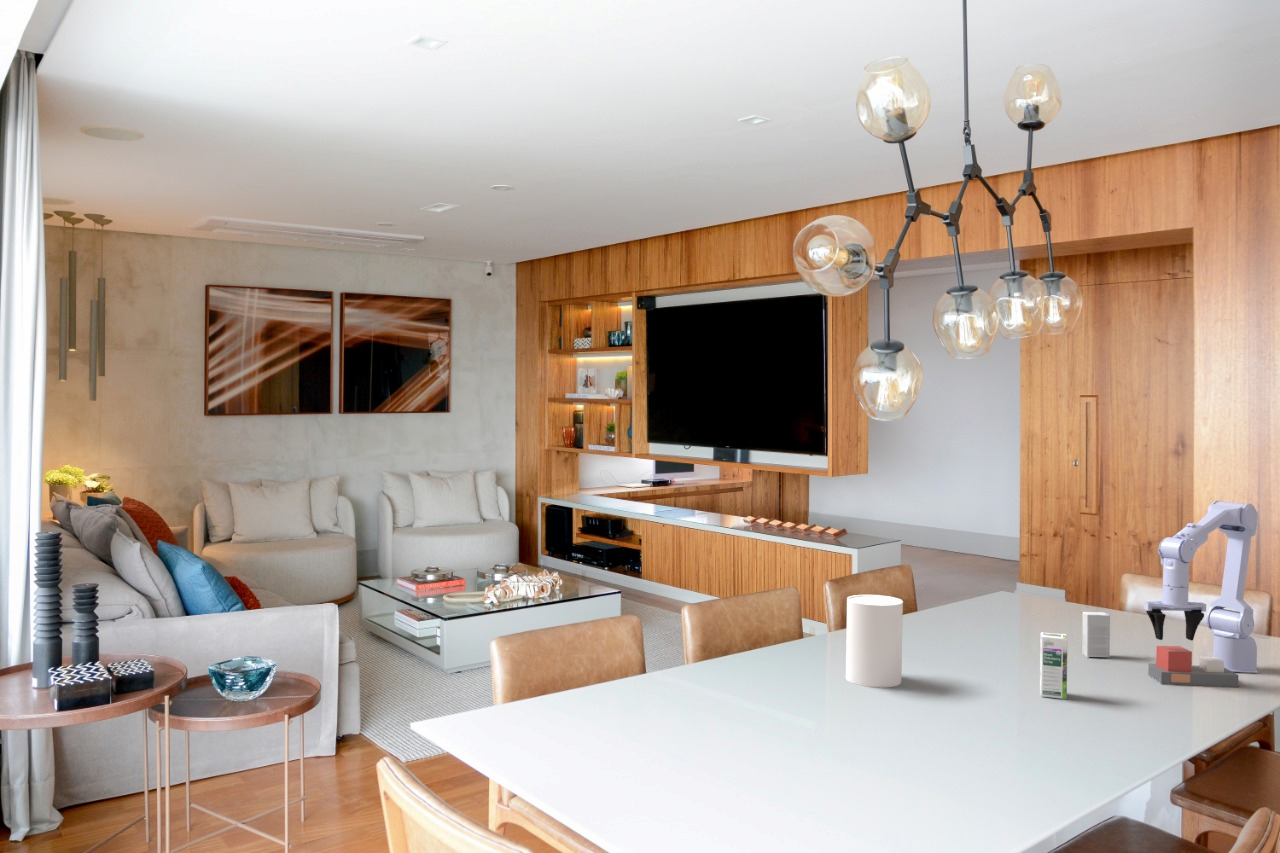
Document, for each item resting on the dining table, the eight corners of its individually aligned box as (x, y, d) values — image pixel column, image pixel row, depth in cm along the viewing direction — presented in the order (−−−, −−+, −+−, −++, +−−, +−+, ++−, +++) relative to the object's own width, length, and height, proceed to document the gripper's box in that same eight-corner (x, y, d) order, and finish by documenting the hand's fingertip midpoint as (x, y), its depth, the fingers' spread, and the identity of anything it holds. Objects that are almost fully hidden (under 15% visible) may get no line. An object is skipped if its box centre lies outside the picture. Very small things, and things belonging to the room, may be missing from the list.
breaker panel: (1222, 678, 249) (1222, 666, 248) (1238, 687, 240) (1238, 675, 240) (1148, 675, 251) (1148, 663, 251) (1161, 684, 242) (1161, 672, 242)
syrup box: (1040, 697, 230) (1041, 636, 230) (1039, 690, 236) (1040, 630, 236) (1066, 700, 228) (1067, 638, 228) (1065, 693, 234) (1066, 632, 234)
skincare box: (1103, 654, 271) (1104, 611, 271) (1109, 658, 267) (1110, 615, 267) (1081, 654, 272) (1082, 611, 271) (1086, 658, 267) (1087, 614, 267)
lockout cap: (1179, 665, 249) (1179, 646, 249) (1191, 671, 243) (1192, 651, 243) (1156, 665, 249) (1156, 645, 249) (1168, 671, 243) (1168, 651, 243)
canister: (858, 669, 253) (859, 592, 253) (909, 678, 245) (910, 599, 245) (837, 680, 242) (838, 600, 242) (889, 690, 234) (890, 607, 234)
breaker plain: (1216, 671, 247) (1216, 657, 247) (1223, 675, 243) (1224, 661, 243) (1199, 670, 247) (1199, 656, 247) (1206, 674, 243) (1207, 660, 243)
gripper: (1195, 583, 250) (1194, 635, 250) (1138, 582, 250) (1137, 635, 250) (1211, 588, 243) (1210, 642, 243) (1152, 587, 243) (1151, 641, 243)
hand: (1174, 639), depth 246 cm, fingers open, 7 cm apart
